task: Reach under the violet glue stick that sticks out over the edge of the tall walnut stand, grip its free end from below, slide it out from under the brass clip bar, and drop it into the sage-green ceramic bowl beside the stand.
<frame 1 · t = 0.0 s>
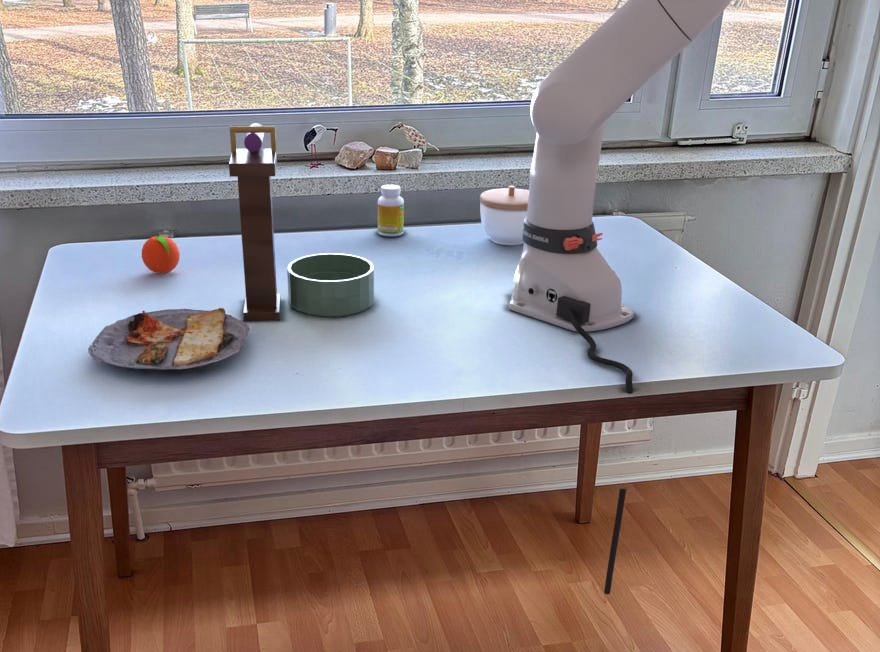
stand: (262, 311, 171), on the table
glue stick: (255, 146, 164), point 26 cm above the table, touching stand
bowl: (331, 302, 175), on the table
clementine: (163, 274, 187), on the table
food plate: (173, 350, 157), on the table
supplement bottle: (390, 234, 210), on the table
lidded bowl: (508, 241, 207), on the table
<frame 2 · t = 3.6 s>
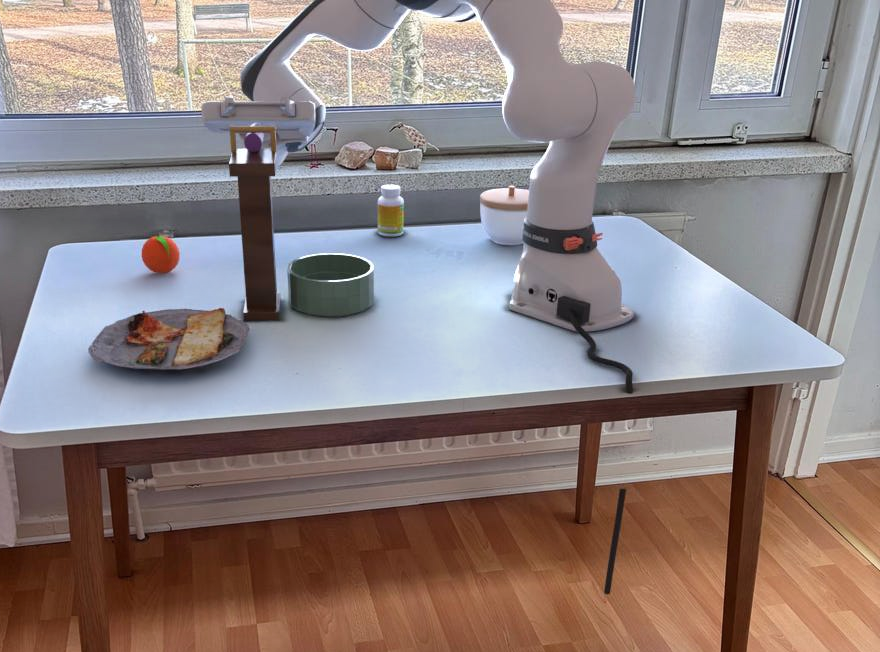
hand: (256, 101, 173), 31 cm above the table, tool pointing upward, fingers open, 8 cm apart
nothing on the table moved.
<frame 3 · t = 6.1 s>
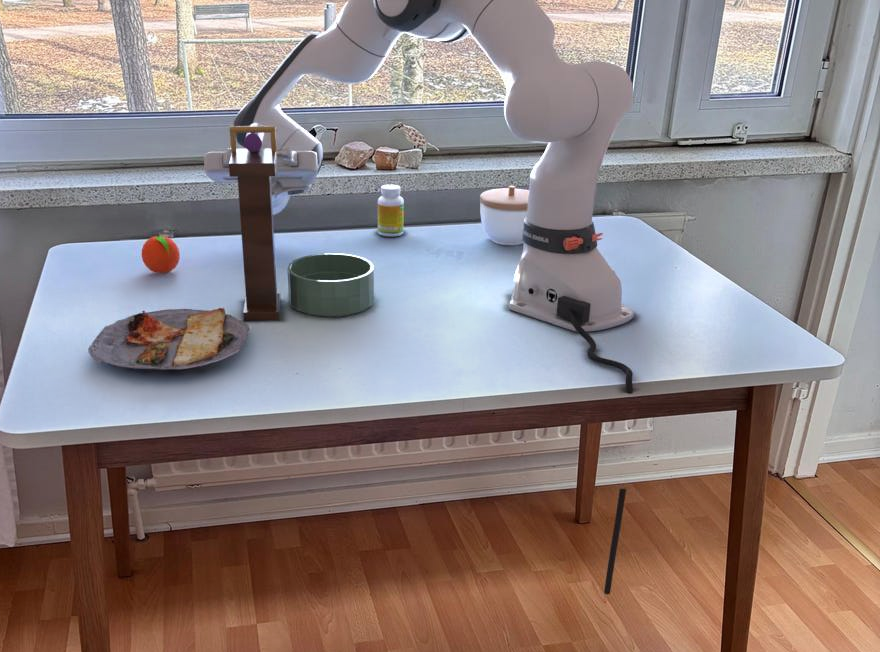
hand: (258, 152, 173), 23 cm above the table, tool pointing upward, fingers open, 8 cm apart
nothing on the table moved.
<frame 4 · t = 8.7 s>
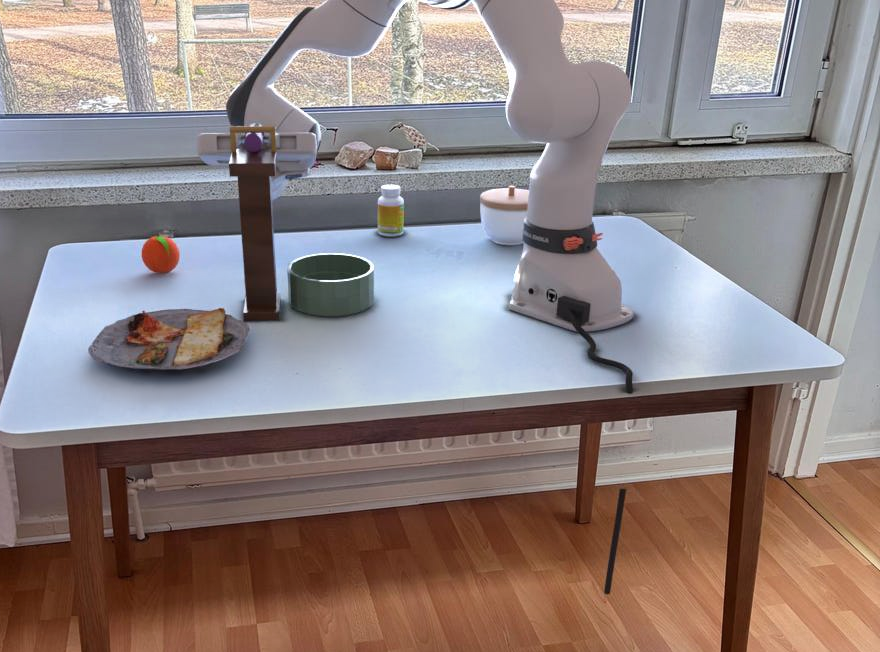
hand: (254, 133, 164), 28 cm above the table, tool pointing upward, fingers closed on glue stick, 3 cm apart
glue stick: (255, 145, 164), point 26 cm above the table, touching gripper, stand
everything else where it was.
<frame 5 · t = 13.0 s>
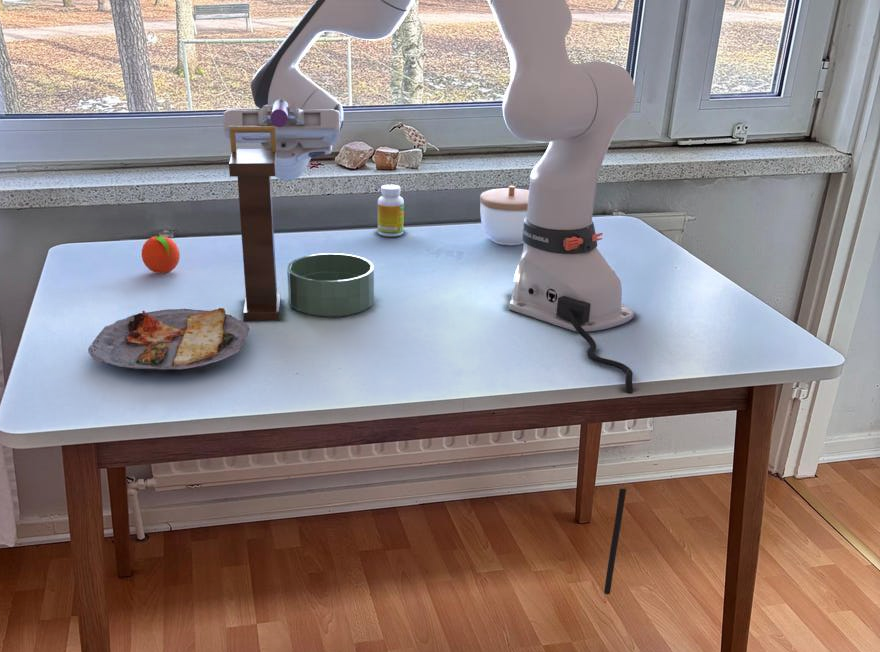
hand: (280, 109, 167), 30 cm above the table, tool pointing upward, fingers closed on glue stick, 3 cm apart
glue stick: (280, 121, 167), point 29 cm above the table, touching gripper
everything else where it was.
when the fingers open (17 cm above the table, at t = 17.6 s): glue stick drops 15 cm, resting on bowl.
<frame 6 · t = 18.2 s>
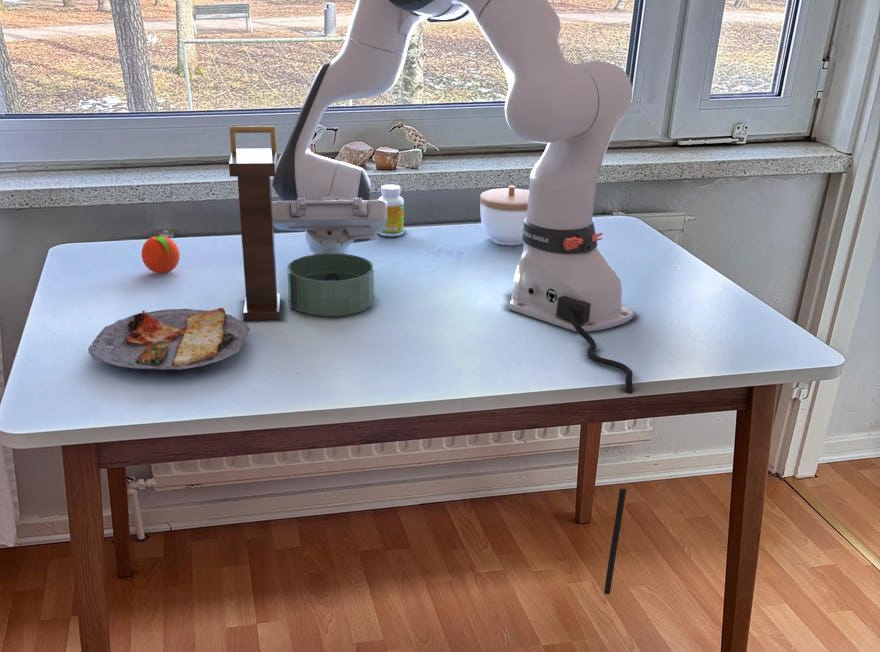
hand: (329, 203, 167), 17 cm above the table, tool pointing upward, fingers open, 8 cm apart
glue stick: (332, 299, 175), resting on bowl
everything else where it was.
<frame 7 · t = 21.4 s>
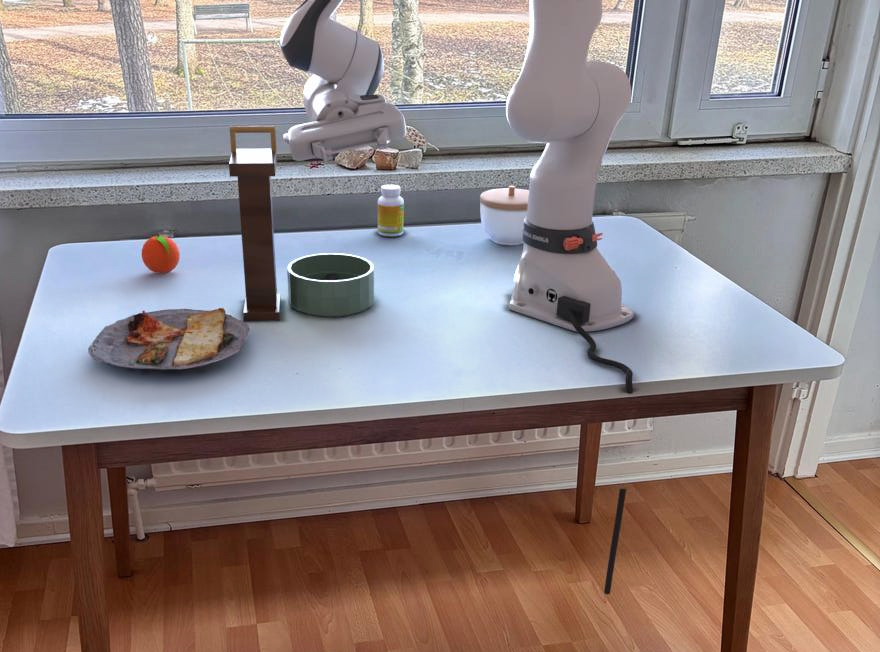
hand: (355, 150, 165), 25 cm above the table, tool horizontal, fingers open, 8 cm apart
nothing on the table moved.
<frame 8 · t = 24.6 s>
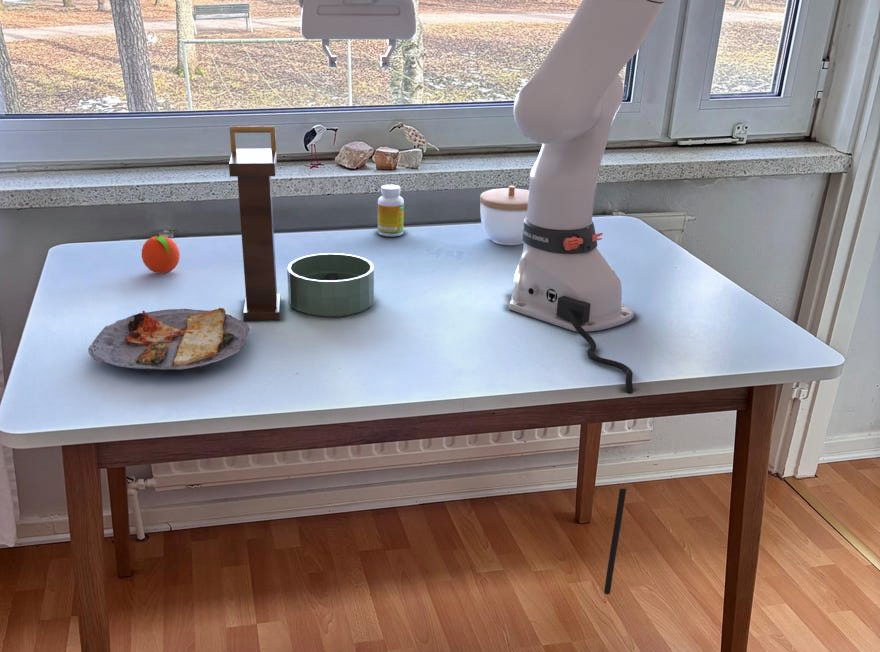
hand: (358, 66, 178), 35 cm above the table, tool pointing down, fingers open, 8 cm apart
nothing on the table moved.
at the end: glue stick inside the target area in the bowl (0.2 cm from its centre), point 0.5 cm above the bowl's base; the gripper is holding nothing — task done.
